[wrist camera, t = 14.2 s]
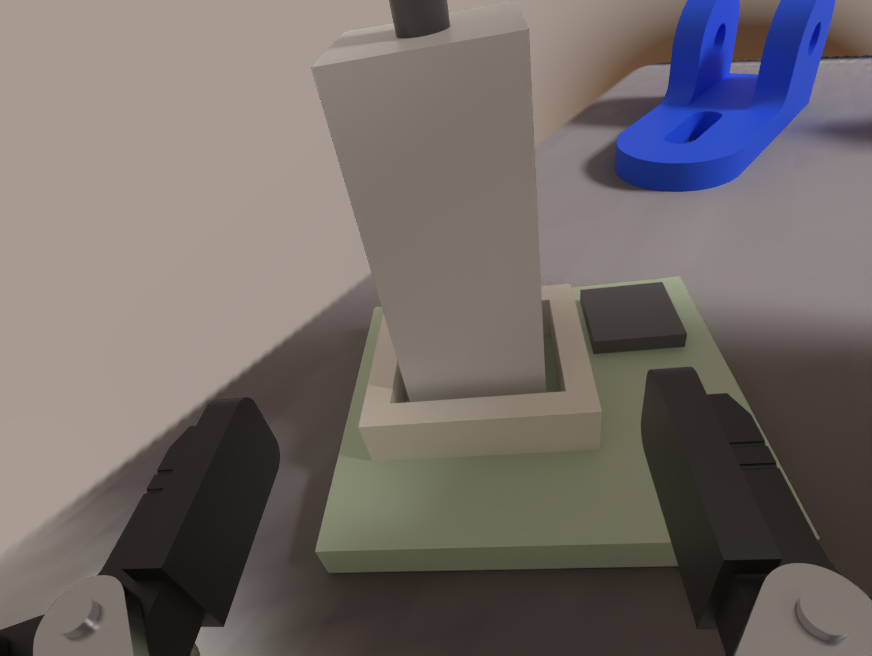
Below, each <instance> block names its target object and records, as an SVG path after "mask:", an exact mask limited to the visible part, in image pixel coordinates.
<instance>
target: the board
mask: <svg viewBox="0 0 872 656" xmlns="http://www.w3.org/2000/svg"><path fill="white" fill-rule="evenodd" d="M541 295H542V316H543V338H544V359H545V380H546V393H534V394H520V395H506V396H492V397H477V398H463V399H449V400H435V401H420V402H410V401H409V397H408V394H407V391H406V387H405V384H404V381H403V377H402V374H401V370H400V367H399V364H398V360H397V357H396V354H395V350H394V347H393V343H392V340H391V337H390V333H389V330H388V326H387V323H386V320H385V316H384V313H383V310H382V306H381V307H374V311H373V315H372V319H371V323H370V328H369V332H368V336H367V340H366V344H365V348H364V352H363V356H362V360H361V365H360V369H359V373H358V377H357V381H356V385H355V389H354V393H353V397H352V401H351V406H350V410H349V414H348V418H347V422H346V426H345V430H344V434H343V438H342V443H341V447H340V451H339V455H338V459H337V463H336V467H335V471H334V475H333V480H332V484H331V488H330V492H329V496H328V500H327V504H326V508H325V512H324V516H323V521H322V525H321V529H320V533H319V537H318V541H317V545H316V549H315V553H316V554H317V556H318V557H319V559H320V560H321V562H322V563H323V565H324V567H325V568H326V570H327V571H328V573H352V572H403V571H455V570H507V569H558V568H610V567H661V566H678V563H677V560H676V557H675V553H674V550H673V547H672V543H671V540H670V537H669V533H668V530H667V526H666V523H665V520H664V516H663V513H662V510H661V506H660V503H659V500H658V496H657V493H656V490H655V486H654V483H653V480H652V476H651V473H650V470H649V466H648V463H647V460H646V456H645V453H644V449H643V444H642V437H641V416H642V408H643V400H644V392H645V385H646V377H647V373H648V370H650V369H663V368H677V367H693V368H694V369H695V370H696V372H697V374H698V376H699V378H700V380H701V382H702V385H703V387H704V389H705V391H706V393H707V394H720V393H728V394H729V395H730V396H731V397H732V398H733V399H734V400H735V401H737V402H738V403H739V404H740V405H741V406H742V407H743V408H744V409H746V410H747V411H748V412H749V413H750V414H751V415H752V417H753V419H754V421H755V423H756V425H757V426H758V428H759V430H760V432H761V434H762V436H763V438H764V440H765V445H766V446H768V447H769V449H770V451H771V453H772V455H773V457H774V459H775V461H776V466H777V468H780V470H781V472H782V474H783V476H784V478H785V480H786V482H787V484H788V485H789V487H790V489H791V491H792V493H793V495H794V497H795V499H796V501H797V503H798V504H799V506H800V508H801V510H802V512H803V514H804V516H805V518H806V520H807V522H808V523H809V525H810V527H811V529H812V531H813V533H814V535H815V537H816V539H817V541H819V539H820V538H819V536H818V534H817V532H816V530H815V528H814V526H813V525H812V523H811V521H810V519H809V517H808V515H807V513H806V511H805V510H804V508H803V506H802V504H801V502H800V500H799V498H798V496H797V495H796V493H795V491H794V489H793V487H792V485H791V483H790V481H789V480H788V478H787V476H786V474H785V472H784V470H783V468H782V466H781V465H780V463H779V461H778V459H777V457H776V455H775V453H774V451H773V450H772V448H771V446H770V444H769V442H768V440H767V438H766V436H765V435H764V433H763V431H762V429H761V427H760V425H759V423H758V421H757V420H756V418H755V416H754V414H753V412H752V410H751V408H750V407H749V405H748V403H747V401H746V399H745V397H744V395H743V393H742V392H741V390H740V388H739V386H738V384H737V382H736V380H735V378H734V377H733V375H732V373H731V371H730V369H729V367H728V365H727V363H726V362H725V360H724V358H723V356H722V354H721V352H720V350H719V348H718V347H717V345H716V343H715V341H714V339H713V337H712V335H711V333H710V332H709V330H708V328H707V326H706V324H705V322H704V320H703V318H702V317H701V315H700V313H699V311H698V309H697V307H696V305H695V303H694V302H693V300H692V298H691V296H690V294H689V292H688V290H687V288H686V287H685V285H684V283H683V281H682V279H681V277H672V278H662V279H652V280H642V281H632V282H622V283H612V284H602V285H592V286H582V287H571V283H569V284H559V285H549V286H541Z"/></svg>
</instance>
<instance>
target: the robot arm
mask: <svg viewBox="0 0 872 656" xmlns="http://www.w3.org/2000/svg"><path fill="white" fill-rule="evenodd" d="M641 437H642V444H643V449H644V453H645V456H646V460H647V463H648V466H649V470H650V473H651V476H652V480H653V483H654V486H655V490H656V493H657V496H658V500H659V503H660V506H661V510H662V513H663V516H664V520H665V523H666V526H667V530H668V533H669V537H670V540H671V543H672V547H673V550H674V553H675V557H676V560H677V563H678V567H679V570H680V573H681V577H682V580H683V583H684V587H685V590H686V593H687V597H688V600H689V603H690V607H691V610H692V613H693V617H694V620H695V623H696V627H697V629H718V631H719V634H720V637H721V640H722V643H723V646H724V649H725V653H726V656H872V598H870V597H869V596H867V595H866V594H865V593H864V592H863V591H862V590H861V589H860V588H858V587H857V586H856V585H855V584H853V583H852V582H850V581H849V580H848V579H846V578H844V577H843V576H842V575H841V574H840V573H839V572H838V571H837V570H836V569H835V568H834V566H833V565H832V564H831V563H830V561H829V560H828V558H827V557H826V555H825V553H824V552H823V550H822V548H821V546H820V544H819V542H818V541H817V539H816V537H815V535H814V533H813V531H812V529H811V527H810V525H809V523H808V522H807V520H806V518H805V516H804V514H803V512H802V510H801V508H800V506H799V504H798V503H797V501H796V499H795V497H794V495H793V493H792V491H791V489H790V487H789V485H788V484H787V482H786V480H785V478H784V476H783V474H782V472H781V470H780V468H777V466H776V461H775V459H774V457H773V455H772V453H771V451H770V449H769V447H768V446H766V445H765V440H764V438H763V436H762V434H761V432H760V430H759V428H758V426H757V425H756V423H755V421H754V419H753V417H752V415H751V414H750V413H749V412H748V411H747V410H746V409H744V408H743V407H742V406H741V405H740V404H739V403H738V402H737V401H735V400H734V399H733V398H732V397H731V396H730V395H729V394H728V393H720V394H707V393H706V391H705V389H704V387H703V385H702V382H701V380H700V378H699V376H698V374H697V372H696V370H695V369H694V368H693V367H677V368H663V369H650V370H648V373H647V377H646V385H645V392H644V400H643V408H642V416H641ZM279 461H280V452H279V446H278V443H277V440H276V438H275V437H274V435H273V433H272V432H271V430H270V428H269V426H268V425H267V423H266V421H265V419H264V418H263V416H262V414H261V412H260V411H259V409H258V407H257V406H256V404H255V402H254V401H253V400H252V399H250V398H234V399H221V400H213V401H211V402H210V403H209V404H208V405H207V407H206V409H205V410H204V412H203V414H202V416H201V418H200V420H199V422H198V424H197V426H190V427H189V428H188V429H187V430H186V431H185V432H184V433H183V434H182V435H181V436H180V437H179V438H178V439H177V440H176V441H175V442H174V443H173V445H172V446H171V447H170V448H169V450H168V452H167V453H166V455H165V457H164V459H163V461H162V462H161V464H160V466H159V468H158V470H157V471H158V473H157V475H154V477H153V479H152V480H151V482H150V484H149V486H148V488H147V493H146V494H144V495H143V497H142V498H141V500H140V502H139V504H138V506H137V507H136V509H135V511H134V513H133V515H132V516H131V518H130V520H129V522H128V524H127V525H126V527H125V529H124V531H123V533H122V534H121V536H120V538H119V540H118V542H117V543H116V545H115V547H114V549H113V551H112V552H111V554H110V556H109V558H108V560H107V561H106V563H105V565H104V567H103V568H102V570H101V571H100V573H99V574H98V575H97V576H94V577H91V578H88V579H86V580H83V581H82V582H80V583H78V584H76V585H75V586H73V587H72V588H70V589H69V590H68V591H66V592H65V593H64V594H63V595H62V596H61V597H60V598H58V599H57V600H56V601H55V603H54V604H53V605H52V606H51V607H50V608H49V610H48V611H47V613H46V614H44V615H41V616H39V617H36V618H33V619H30V620H27V621H25V622H22V623H19V624H16V625H13V626H10V627H8V628H5V629H2V630H0V656H200V652H199V650H198V647H197V646H196V644H195V641H196V638H197V635H198V633H199V630H200V627H224V625H225V622H226V619H227V616H228V613H229V610H230V607H231V604H232V601H233V599H234V596H235V593H236V590H237V587H238V584H239V581H240V578H241V575H242V573H243V570H244V567H245V564H246V561H247V558H248V555H249V552H250V549H251V546H252V544H253V541H254V538H255V535H256V532H257V529H258V526H259V523H260V520H261V518H262V515H263V512H264V509H265V506H266V503H267V500H268V497H269V494H270V492H271V489H272V486H273V483H274V480H275V477H276V474H277V471H278V468H279Z"/></svg>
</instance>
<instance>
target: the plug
mask: <svg viewBox="0 0 872 656" xmlns="http://www.w3.org/2000/svg"><path fill="white" fill-rule="evenodd" d="M389 2H390V7H391V12H392V18H393V23H390V24H386V25H380V26H374V27H369V28H363V29H358V30H353V31H347V32H344V33H343V34H342V35H341V36H340V37H339V38H338V39H337V40H336V41H335V42H334V43H333V44H332V46H331V47H330V48H329V49H328V50H327V51H326V52H325V53H324V54H323V55H322V56H321V57H320V58H319V59H318V61H317V62H316V63H315V64H314V65H313V66H312V67H311V70H312V73H313V76H314V80H315V83H316V86H317V90H318V93H319V97H320V100H321V103H322V107H323V110H324V114H325V117H326V120H327V123H328V127H329V130H330V134H331V137H332V141H333V144H334V147H335V151H336V154H337V157H338V161H339V164H340V168H341V171H342V174H343V178H344V181H345V185H346V188H347V191H348V194H349V198H350V201H351V205H352V208H353V212H354V215H355V218H356V222H357V225H358V228H359V232H360V235H361V239H362V242H363V245H364V249H365V252H366V256H367V259H368V262H369V265H370V269H371V272H372V276H373V279H374V283H375V286H376V289H377V293H378V296H379V299H380V303H381V306H382V310H383V313H384V316H385V320H386V323H387V326H388V330H389V333H390V337H391V340H392V343H393V347H394V350H395V354H396V357H397V360H398V364H399V367H400V370H401V374H402V377H403V381H404V384H405V387H406V391H407V394H408V397H409V401H410V402H420V401H435V400H449V399H463V398H477V397H492V396H506V395H520V394H534V393H546V380H545V359H544V338H543V316H542V295H541V274H540V253H539V232H538V211H537V190H536V169H535V148H534V127H533V105H532V84H531V66H530V65H531V63H530V44H529V28H528V26H527V23H526V21H525V18H524V16H523V14H522V11H521V8H520V6H519V3H518V1H517V0H514V1H509V2H504V3H498V4H493V5H487V6H482V7H477V8H471V9H466V10H461V11H456V12H450V13H449V12H448V5H447V0H389Z"/></svg>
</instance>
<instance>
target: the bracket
mask: <svg viewBox="0 0 872 656" xmlns="http://www.w3.org/2000/svg"><path fill="white" fill-rule="evenodd" d="M834 5H835V0H781V1H780V3H779V5H778V8H777V10H776V12H775V15H774V17H773V20H772V23H771V26H770V29H769V33H768V35H767V39H766V43H765V47H764V51H763V56H762V60H761V65H760V70H759V75H756V74H732V73H729V72H730V66H731V60H732V54H733V49H734V43H735V38H736V32H737V26H738V20H739V7H740V3H739V0H688V1H687V2H686V4H685V7H684V9H683V11H682V14H681V16H680V19H679V22H678V25H677V29H676V33H675V38H674V43H673V49H672V58H671V67H670V76H669V84H668V89H667V92H666V95H665V97H664V99H663V101H662V102H661V104H660V105H658V106H657V107H656V108H654V109H653V110H652V111H650V112H649V113H648V114H646V115H645V116H643V117H642V118H641V119H639V120H638V121H637V122H635V123H634V124H633V125H631V126H630V127H628V128H627V129H626V130H624V131H623V132H622V133H621V134H620V135H619V136H618V138H617V143H616V162H615V170H616V173H617V174H618V176H619V177H620V178H621V179H623V180H624V181H626V182H628V183H630V184H632V185H635V186H638V187H641V188H646V189H651V190H657V191H670V192H683V191H696V190H703V189H708V188H712V187H716V186H720V185H722V184H725V183H727V182H730V181H732V180H733V179H735V178H736V177H738V176H739V175H740V174H741V173H742V172H743V171H744V170H745V169H746V168H747V167H748V166H749V165H750V164H751V162H752V161H753V160H754V159H755V158H756V157H757V156H758V155H759V154H760V153H761V152H762V151H763V150H764V149H765V148H766V147H767V146H768V145H769V144H770V143H771V142H772V140H773V139H774V138H775V137H776V136H777V135H778V134H779V133H780V132H781V131H782V130H783V129H784V128H785V127H786V126H787V125H788V124H789V123H790V122H791V121H792V120H793V118H794V117H795V116H796V115H797V114H798V113H799V112H800V111H801V110H802V109H803V108H804V107H805V106H806V105H807V104H808V102H809V99H810V95H811V92H812V88H813V84H814V81H815V77H816V73H817V70H818V66H819V63H820V59H821V55H822V52H823V48H824V44H825V41H826V37H827V33H828V30H829V26H830V23H831V19H832V14H833V10H834ZM697 137H699V138H697ZM693 138H697V139H696V140H695V141H693V142H690V143H686V142H687V141H688V140H690V139H693Z"/></svg>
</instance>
